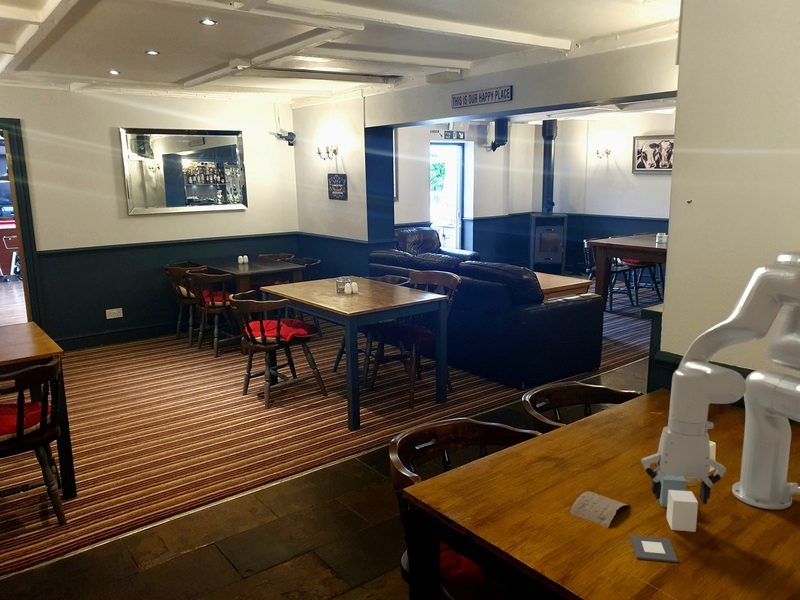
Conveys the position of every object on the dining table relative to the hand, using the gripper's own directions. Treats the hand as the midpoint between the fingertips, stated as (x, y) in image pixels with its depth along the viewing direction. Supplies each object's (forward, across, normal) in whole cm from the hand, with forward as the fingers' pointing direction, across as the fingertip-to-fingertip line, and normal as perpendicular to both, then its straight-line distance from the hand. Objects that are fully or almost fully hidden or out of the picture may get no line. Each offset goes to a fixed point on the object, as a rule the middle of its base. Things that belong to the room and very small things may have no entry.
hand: (679, 498), depth 138 cm
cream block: (+6, -1, -1) cm, 7 cm away
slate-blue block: (+6, -1, -11) cm, 12 cm away
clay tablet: (+8, +16, -5) cm, 18 cm away
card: (+7, +7, +10) cm, 14 cm away
